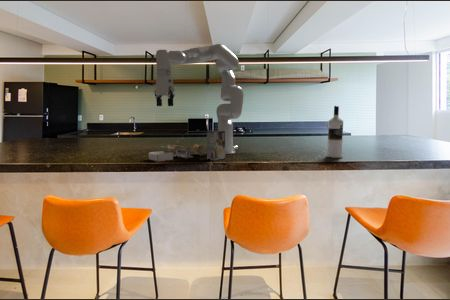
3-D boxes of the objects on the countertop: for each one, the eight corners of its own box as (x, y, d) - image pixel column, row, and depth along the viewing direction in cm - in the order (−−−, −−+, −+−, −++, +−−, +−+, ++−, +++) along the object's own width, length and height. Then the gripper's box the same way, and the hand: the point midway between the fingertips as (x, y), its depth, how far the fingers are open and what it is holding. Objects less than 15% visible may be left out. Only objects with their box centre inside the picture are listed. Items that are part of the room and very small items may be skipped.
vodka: (332, 155, 187) (334, 105, 183) (345, 157, 180) (348, 105, 175) (322, 156, 182) (324, 105, 178) (335, 158, 175) (338, 105, 170)
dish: (163, 157, 181) (163, 150, 181) (173, 159, 174) (173, 152, 173) (148, 159, 175) (148, 152, 174) (157, 161, 167) (157, 154, 167)
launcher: (188, 150, 200) (189, 144, 200) (202, 152, 190) (203, 146, 190) (160, 147, 186) (161, 140, 186) (173, 149, 175) (174, 142, 175)
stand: (190, 152, 200) (189, 146, 200) (205, 155, 188) (205, 149, 188) (162, 156, 187) (161, 149, 186) (177, 159, 174) (177, 152, 174)
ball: (196, 149, 193) (196, 144, 193) (199, 150, 190) (200, 144, 190) (191, 149, 190) (192, 143, 190) (194, 150, 188) (195, 144, 188)
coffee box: (217, 157, 181) (217, 130, 179) (225, 158, 177) (225, 130, 175) (206, 159, 174) (206, 131, 172) (214, 160, 170) (214, 131, 168)
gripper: (179, 73, 162) (180, 106, 164) (159, 75, 173) (160, 106, 175) (168, 72, 156) (169, 106, 159) (148, 74, 167) (149, 106, 170)
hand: (164, 106), depth 167 cm, fingers open, 9 cm apart
